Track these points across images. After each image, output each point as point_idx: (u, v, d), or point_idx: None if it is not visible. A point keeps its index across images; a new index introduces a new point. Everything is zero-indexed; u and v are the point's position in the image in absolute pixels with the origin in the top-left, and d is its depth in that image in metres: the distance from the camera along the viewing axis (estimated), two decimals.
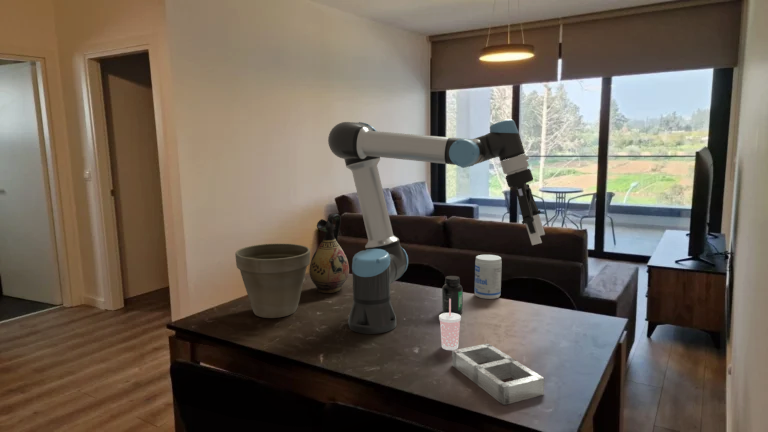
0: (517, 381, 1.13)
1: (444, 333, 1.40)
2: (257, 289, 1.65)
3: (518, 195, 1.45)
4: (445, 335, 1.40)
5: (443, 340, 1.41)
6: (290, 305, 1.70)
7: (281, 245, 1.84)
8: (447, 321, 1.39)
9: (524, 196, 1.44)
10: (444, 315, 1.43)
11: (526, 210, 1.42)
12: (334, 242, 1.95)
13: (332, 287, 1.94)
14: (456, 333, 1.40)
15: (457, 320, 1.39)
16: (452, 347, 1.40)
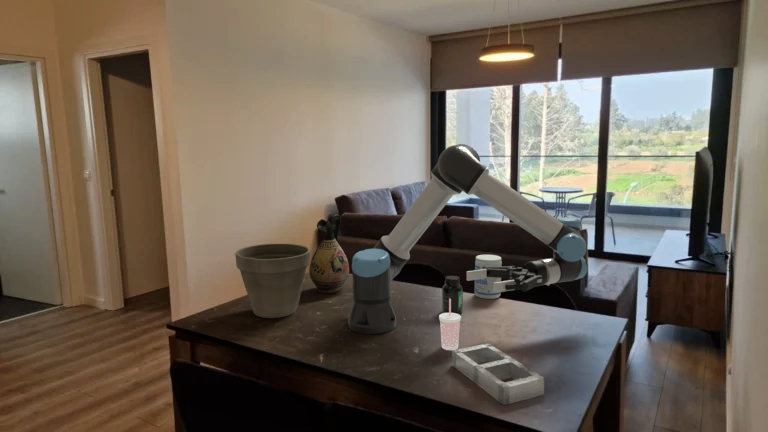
0: (517, 381, 1.13)
1: (444, 333, 1.40)
2: (257, 289, 1.65)
3: (538, 278, 1.43)
4: (445, 335, 1.40)
5: (443, 340, 1.41)
6: (290, 305, 1.70)
7: (281, 245, 1.84)
8: (447, 321, 1.39)
9: (536, 284, 1.43)
10: (444, 315, 1.42)
11: (530, 285, 1.40)
12: (334, 242, 1.95)
13: (332, 287, 1.94)
14: (456, 333, 1.40)
15: (457, 320, 1.39)
16: (452, 347, 1.40)
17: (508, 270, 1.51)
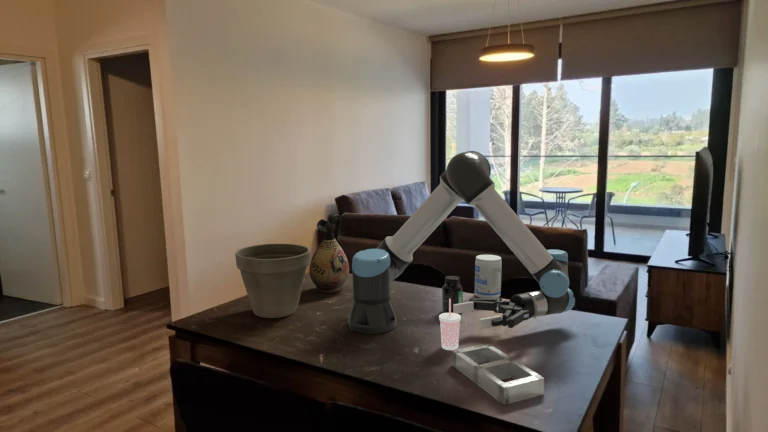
0: (517, 381, 1.13)
1: (444, 333, 1.40)
2: (257, 289, 1.65)
3: (525, 313, 1.42)
4: (445, 335, 1.40)
5: (443, 340, 1.41)
6: (290, 305, 1.70)
7: (281, 245, 1.84)
8: (447, 321, 1.39)
9: (523, 319, 1.42)
10: (444, 315, 1.43)
11: (516, 321, 1.39)
12: (334, 242, 1.95)
13: (332, 287, 1.94)
14: (456, 333, 1.40)
15: (457, 320, 1.39)
16: (452, 347, 1.40)
17: (495, 303, 1.50)
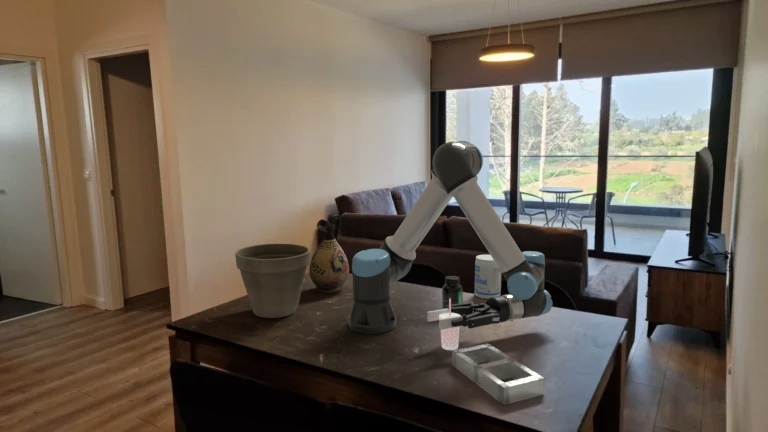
0: (517, 381, 1.13)
1: (444, 333, 1.40)
2: (257, 289, 1.65)
3: (493, 316, 1.39)
4: (445, 335, 1.40)
5: (443, 340, 1.41)
6: (290, 305, 1.70)
7: (281, 245, 1.84)
8: None
9: (491, 322, 1.39)
10: (444, 315, 1.42)
11: (478, 323, 1.37)
12: (334, 242, 1.95)
13: (332, 287, 1.94)
14: (456, 333, 1.40)
15: None
16: (452, 347, 1.40)
17: (471, 307, 1.46)
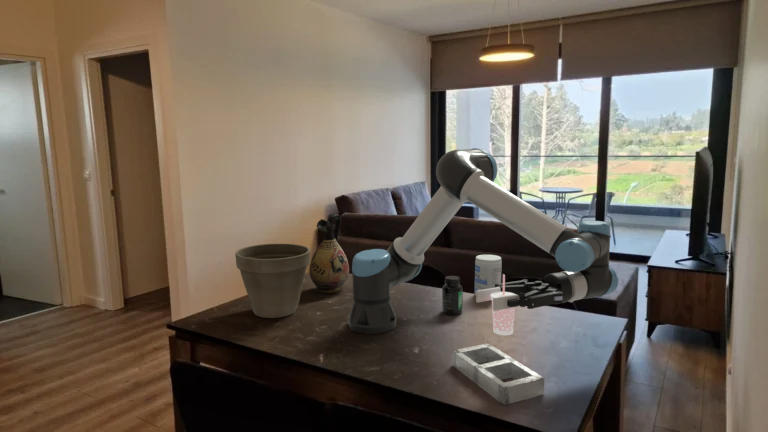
0: (517, 381, 1.13)
1: (497, 315, 1.18)
2: (257, 289, 1.65)
3: (556, 295, 1.18)
4: (499, 318, 1.18)
5: (496, 324, 1.19)
6: (290, 305, 1.70)
7: (281, 245, 1.84)
8: None
9: (553, 302, 1.18)
10: (496, 294, 1.21)
11: (539, 302, 1.16)
12: (334, 242, 1.95)
13: (332, 287, 1.94)
14: (512, 315, 1.18)
15: None
16: (507, 331, 1.18)
17: (526, 286, 1.24)
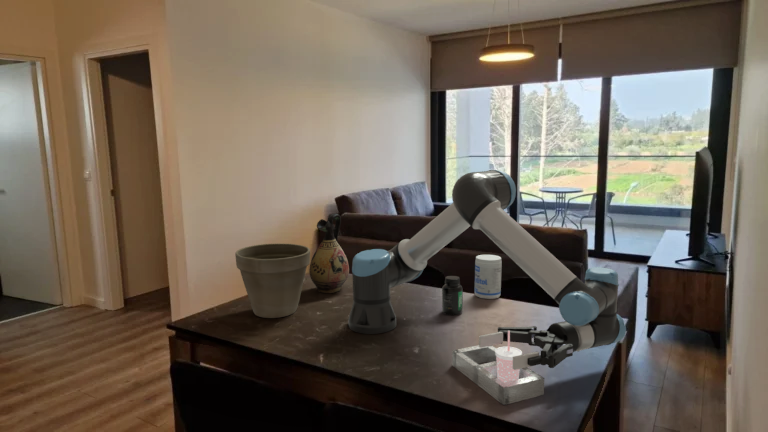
0: (517, 381, 1.13)
1: (502, 372, 1.16)
2: (257, 289, 1.65)
3: (568, 348, 1.15)
4: (504, 375, 1.16)
5: None
6: (290, 305, 1.70)
7: (281, 245, 1.84)
8: (506, 358, 1.15)
9: (566, 355, 1.15)
10: (501, 350, 1.18)
11: (558, 359, 1.12)
12: (334, 242, 1.95)
13: (332, 287, 1.94)
14: (516, 373, 1.16)
15: None
16: None
17: (530, 334, 1.23)
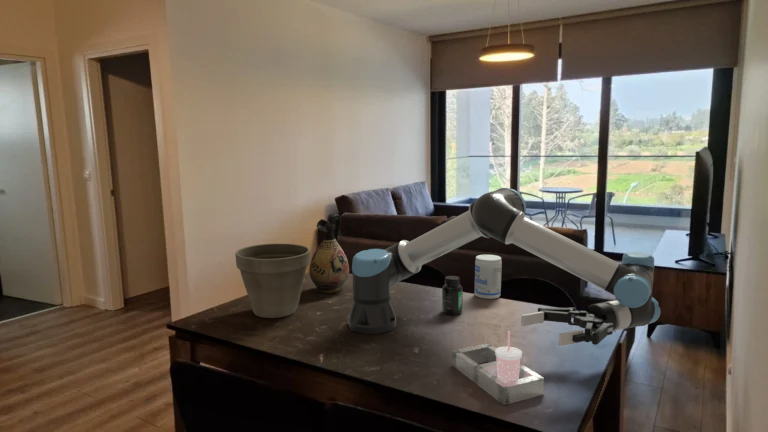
0: (517, 381, 1.13)
1: (502, 372, 1.16)
2: (257, 289, 1.65)
3: (609, 327, 1.21)
4: (504, 375, 1.16)
5: None
6: (290, 305, 1.70)
7: (281, 245, 1.84)
8: (506, 358, 1.15)
9: (607, 333, 1.21)
10: (501, 350, 1.18)
11: (601, 337, 1.18)
12: (334, 242, 1.95)
13: (332, 287, 1.94)
14: (516, 373, 1.16)
15: (518, 357, 1.15)
16: None
17: (570, 314, 1.29)
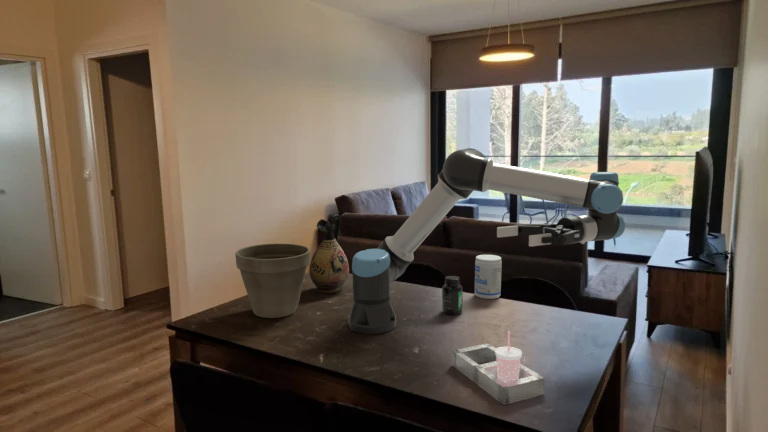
0: (517, 381, 1.13)
1: (502, 372, 1.16)
2: (257, 289, 1.65)
3: (576, 233, 1.33)
4: (504, 375, 1.16)
5: None
6: (290, 305, 1.70)
7: (281, 245, 1.84)
8: (506, 358, 1.15)
9: (573, 239, 1.33)
10: (501, 350, 1.18)
11: (567, 239, 1.30)
12: (334, 242, 1.95)
13: (332, 287, 1.94)
14: (516, 373, 1.16)
15: (518, 357, 1.15)
16: None
17: (541, 226, 1.41)
